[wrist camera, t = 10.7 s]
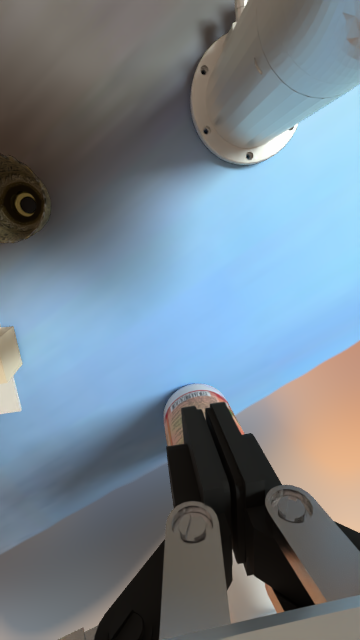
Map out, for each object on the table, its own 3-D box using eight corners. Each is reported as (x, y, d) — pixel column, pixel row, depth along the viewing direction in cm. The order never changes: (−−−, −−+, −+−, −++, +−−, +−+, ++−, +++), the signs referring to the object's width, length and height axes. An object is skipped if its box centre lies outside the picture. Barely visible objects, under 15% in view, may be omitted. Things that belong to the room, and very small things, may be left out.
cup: (-15, 169, 33) (-58, 152, 26) (57, 167, 34) (36, 150, 27) (0, 241, 36) (-36, 245, 28) (68, 238, 37) (50, 240, 29)
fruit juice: (180, 371, 43) (253, 602, 17) (238, 394, 46) (384, 629, 19) (151, 427, 45) (176, 715, 19) (208, 446, 47) (304, 727, 21)
